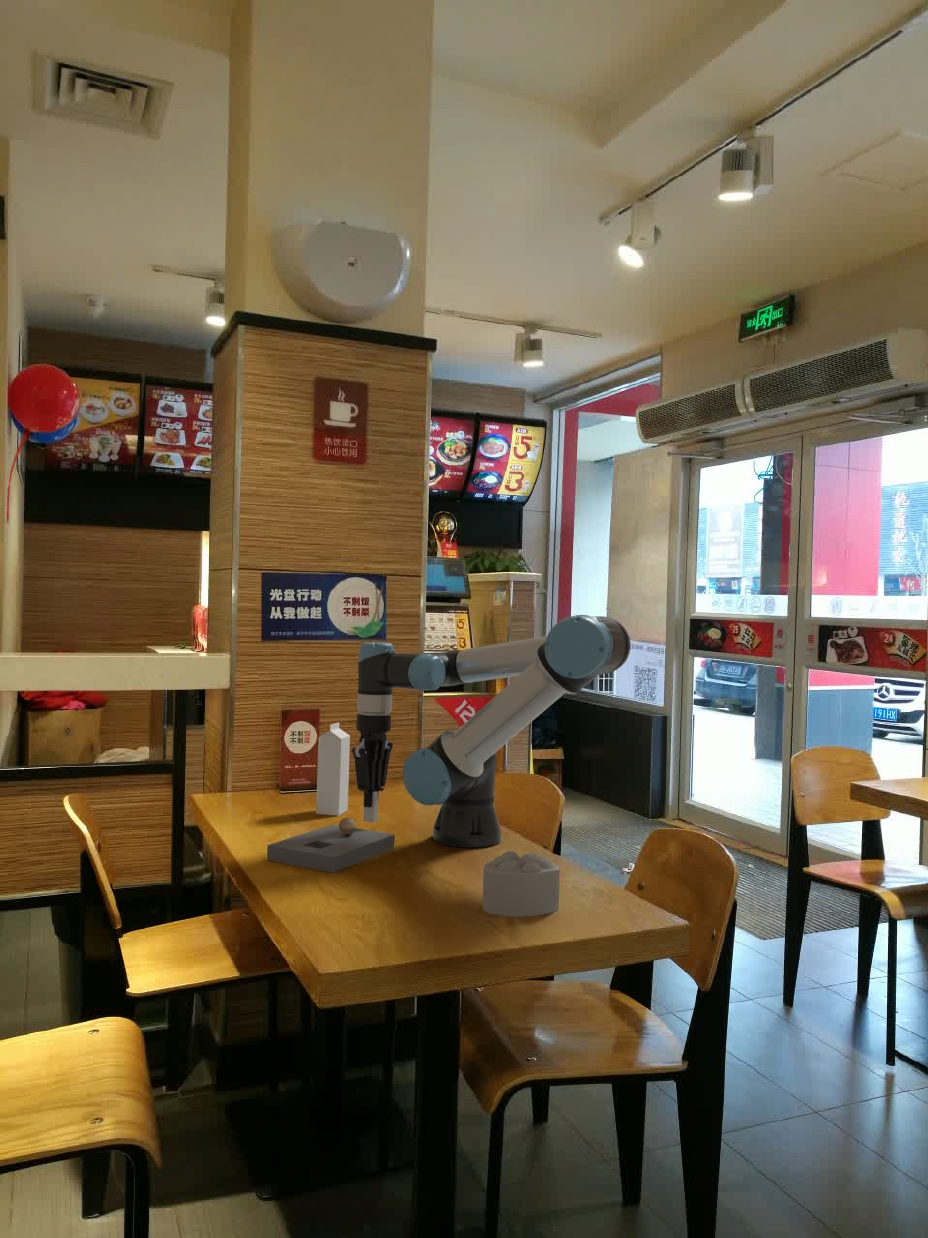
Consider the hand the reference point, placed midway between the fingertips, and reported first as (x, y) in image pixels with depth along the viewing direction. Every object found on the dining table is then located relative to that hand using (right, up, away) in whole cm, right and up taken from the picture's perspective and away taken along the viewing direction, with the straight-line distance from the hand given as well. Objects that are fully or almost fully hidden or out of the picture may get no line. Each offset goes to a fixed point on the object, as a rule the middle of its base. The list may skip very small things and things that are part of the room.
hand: (370, 821), depth 204 cm
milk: (-12, -4, +27) cm, 30 cm away
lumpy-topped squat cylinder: (+30, -6, -42) cm, 52 cm away
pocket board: (-7, -4, -12) cm, 15 cm away
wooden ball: (-4, +1, -8) cm, 9 cm away
